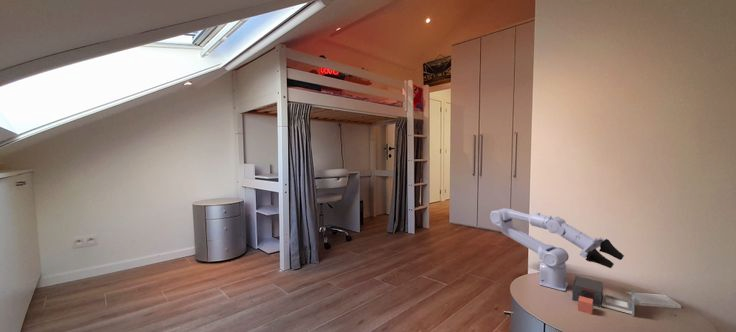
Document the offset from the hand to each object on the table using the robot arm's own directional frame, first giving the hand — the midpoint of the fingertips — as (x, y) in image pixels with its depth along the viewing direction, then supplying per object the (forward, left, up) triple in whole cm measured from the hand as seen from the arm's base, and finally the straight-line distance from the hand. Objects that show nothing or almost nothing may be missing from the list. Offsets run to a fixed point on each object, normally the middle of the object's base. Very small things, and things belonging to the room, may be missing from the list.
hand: (617, 262), depth 103 cm
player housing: (-9, +1, -17) cm, 19 cm away
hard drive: (+10, +14, -18) cm, 25 cm away
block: (-8, -9, -17) cm, 21 cm away
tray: (-1, +1, -17) cm, 17 cm away
